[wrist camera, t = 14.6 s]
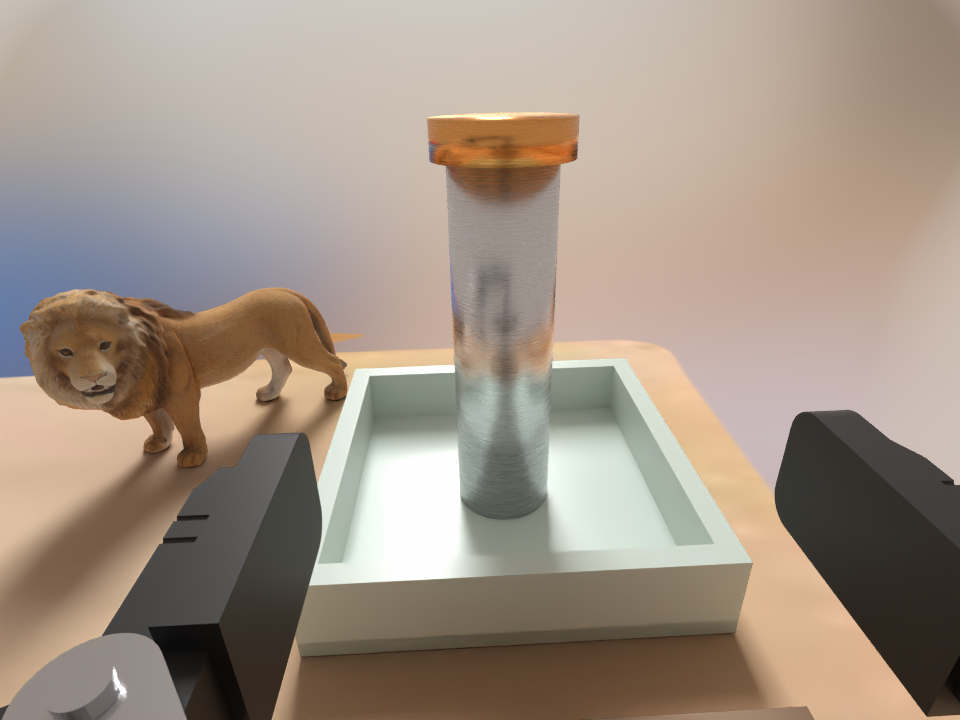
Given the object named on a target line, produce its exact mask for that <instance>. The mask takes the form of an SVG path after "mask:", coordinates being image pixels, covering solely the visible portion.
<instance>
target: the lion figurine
mask: <svg viewBox="0 0 960 720" xmlns="http://www.w3.org/2000/svg"><path fill="white" fill-rule="evenodd" d="M314 329H315V330H314ZM20 330H21V332H22V333H23V336H24V339H25V340H26V342H25V355H26V356H27V357H28V358H29V360H30V365H31V367H32V369H33V372H34V375H35V377H36V381H37V383H38V385H39V386H40V387H41V388H42V389H43V390H44V391H45V393H46V394H47V395H48V396H49V397H51V398H52V399H54V400H55V401H56V402H57V403H58V404H59V405H65V406H67V407H69V408H73V409H82V410H94V409H96V410H103V411H104V412H107V413H109V414H111V415H112V416H114V417H116V418H118V419H120V420H128V419H134V418H139V417H141V416H144V417H145V418H146V420H147V421H148V423H149V424H150V426H151V428H152V430H153V433H154V434H152V435H150V436H149V437H148V439H146V441H145V443H144V450H145V451H147V452H149V453H156V452H159V451H161V450H164V449H166V448H167V447H168V446H169V445H170V444H171V441H172V432H173V430H174V424H175V426H176V428H177V429H178V431H179V433H180V434H181V437H182V440H183V446H184V449H183V450H182V451H181V452H180V453H179V454H178V456H177V460H178V464H179V466H180V467H193V466H199V465H200V464H202V462H203V461H204V460H205V458H206V455H207V451H208V450H207V444H206V438H205V435H204V433H203V431H202V429H201V424H200V418H199V401H200V397H201V391H200V389H201V388H204V387H208V386H211V385H215V384H218V383H221V382H224V381H227V380H230V379H232V378H233V377H235V376H237V375H239V374H240V373H242V372H243V371H245V370H246V369H247V368H248V367H249V366H250V365H251V364H252V363H253V362H254V361H255V360H256V359H257V358H258V357H259V355H260V354H261V353H262V355H263V356H264V357H265V359H266V360H267V361H268V363H269V364H270V366H271V369H272V379H271V381H270V383H269V384H268V385H267V386H264V387H262V388H259V389H258V390H257V393H256V396H257V398H258V399H259V400H261V401H268V400H272V399H274V398H276V397H278V396H279V394H280V393H281V390H282V388H283V386H284V385H285V383H286V381H287V379H288V377H289V375H290V374H291V372H292V367H291V364H290V362H289V360H288V358H289V359H290V360H292V361H294V362H296V363H297V364H299V365H301V366H303V367H306V368H310V369H313V370H316V371H320V372H323V373H326V374H328V375H329V376H330V377H331V378H332V383H331V384H330V385H328V386H327V387H326V388H325V390H324V395H325V397H326V398H328V399H331V400H339V399H341V398H343V397H344V396H345V395H346V394H347V382H346V378H345V375H344V371H343V369H344V368H345V367H346V366H347V364H346V362H344V361H343V360H341V359H339V358H338V357H337V356H336V354H335V350H334V346H333V342H332V340H331V337H330V334H329V331H328V328H327V326H326V324H325V321H324V319H323V318H322V316H321V314H320V313H319V311H318V309H317V308H316V307H315V306H314V305H313V303H312V302H311V301H310V300H309V299H308V298H306V297H305V296H303V295H302V294H300V293H298V292H296V291H293V290H290V289H286V288H264V289H259V290H254V291H251V292H249V293H247V294H245V295H243V296H241V297H239V298H237V299H235V300H234V301H231V302H229V303H227V304H224V305H222V306H219V307H216V308H213V309H210V310H207V311H203V312H199V313H195V314H194V313H192V312H189V311H181V310H176V309H173V308H171V307H170V306H168V305H166V304H163V303H161V302H159V301H157V300H154V299H149V298H143V299H136V298H130V297H126V298H122V297H120V296H117V295H115V294H113V293H112V292H109V291H108V292H103V291H97V290H91V289H89V290H88V289H86V290H77V289H74V290H71V291H69V292H65V293H64V292H63V293H58V294H57V295H55V296H53V297H49V298H45V299H43V300H41V301H40V302H39V304H38V305H37V306H36V307H35V308H34V309H33V310H32V312H31V314H30V316H29V320H28V321H27V322H25V323H23V324H22V325H21V326H20ZM315 331H316V333H317V335H318V337H319V339H320V341H321V342H320V341H319V339H318V337H317V335H316V333H315ZM173 423H174V424H173Z"/></svg>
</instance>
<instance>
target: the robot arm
mask: <svg viewBox="0 0 960 720" xmlns="http://www.w3.org/2000/svg"><path fill="white" fill-rule="evenodd" d="M775 504H776V509H777V512H778V515H779V518H780V520H781V522H782V524H783V525H784V527H785V528H786V529H787V531H788V532H789V533H790V535H791V536H792V537H793V539H794V540H795V541H796V543H797V544H798V545H799V547H800V548H801V549H802V551H803V552H804V553H805V555H806V556H807V557H808V559H809V560H810V561H811V563H812V564H813V565H814V567H815V568H816V569H817V571H818V572H819V573H820V575H821V576H822V577H823V579H824V580H825V581H826V583H827V584H828V585H829V587H830V588H831V589H832V591H833V592H834V594H835V595H836V596H837V598H838V599H839V600H840V602H841V603H842V604H843V606H844V607H845V608H846V610H847V611H848V612H849V614H850V615H851V616H852V618H853V619H854V620H855V622H856V623H857V624H858V626H859V627H860V628H861V630H862V631H863V632H864V634H865V635H866V636H867V638H868V639H869V640H870V642H871V643H872V644H873V646H874V647H875V648H876V650H877V651H878V652H879V654H880V655H881V656H882V658H883V659H884V660H885V662H886V663H887V664H888V666H889V667H890V668H891V670H892V671H893V672H894V674H895V675H896V676H897V678H898V679H899V680H900V682H901V683H902V684H903V686H904V687H905V688H906V690H907V691H908V692H909V694H910V695H911V696H912V698H913V699H914V700H915V702H916V703H917V704H918V706H919V707H920V708H921V710H922V711H923V712H924V714H925V715H926V716H927V717H931V716H947V715H960V485H954V480H953V479H951V478H950V477H949V476H948V475H946V474H945V473H944V472H943V471H941V470H940V469H939V468H937V467H936V466H935V465H934V464H932V463H931V462H930V461H929V460H928V459H926V458H925V457H923V456H921V455H919V454H917V453H915V452H913V451H911V450H909V449H907V448H905V447H903V446H901V445H899V444H897V443H895V442H893V441H891V440H890V439H889V438H887V437H886V436H885V435H884V434H882V433H881V432H880V431H879V430H878V429H876V428H875V427H874V426H873V425H872V424H870V423H869V422H868V421H867V420H865V419H864V418H863V417H862V416H861V415H859V414H858V413H856V412H854V411H850V410H839V411H838V410H837V411H815V412H802V413H800V414H798V415H797V416H796V417H795V419H794V421H793V423H792V426H791V429H790V433H789V437H788V440H787V444H786V449H785V452H784V456H783V460H782V463H781V467H780V471H779V475H778V478H777V482H776V487H775ZM321 536H322V509H321V503H320V498H319V492H318V487H317V482H316V476H315V471H314V466H313V460H312V455H311V450H310V445H309V441H308V438H307V436H306V434H305V433H283V434H260V435H255V436H254V437H253V438H252V440H251V441H250V443H249V445H248V447H247V448H246V450H245V452H244V454H243V456H242V457H241V459H240V461H239V463H238V465H237V466H236V467H229V468H220V469H218V470H217V471H216V472H215V473H214V474H212V475H211V476H210V477H209V478H207V479H206V480H205V481H204V482H203V483H201V484H200V485H199V486H198V487H197V488H195V489H194V490H193V491H192V493H191V495H190V496H189V498H188V499H187V501H186V503H185V504H184V506H183V507H182V509H181V511H180V512H179V514H178V515H177V521H174V522H173V523H172V525H171V526H170V528H169V530H168V531H167V533H166V534H165V536H164V538H163V544H159V546H158V547H157V549H156V550H155V552H154V554H153V555H152V557H151V558H150V560H149V562H148V563H147V565H146V566H145V568H144V570H143V571H142V573H141V574H140V576H139V578H138V579H137V581H136V582H135V584H134V586H133V587H132V589H131V590H130V592H129V594H128V595H127V597H126V598H125V600H124V601H123V603H122V605H121V606H120V608H119V609H118V611H117V613H116V614H115V616H114V617H113V619H112V621H111V622H110V624H109V625H108V627H107V629H106V630H105V632H104V633H103V635H102V636H101V637H98V638H95V639H92V640H89V641H87V642H85V643H82V644H80V645H78V646H76V647H74V648H72V649H70V650H68V651H67V652H65V653H63V654H61V655H60V656H58V657H57V658H55V659H54V660H52V661H51V662H49V663H48V664H47V665H46V666H44V667H43V668H42V669H41V670H39V671H38V672H37V673H36V674H35V675H34V676H33V677H32V678H31V679H30V680H29V681H28V682H27V683H26V684H25V685H24V686H23V687H22V688H21V690H20V691H19V692H18V693H17V694H16V696H15V697H14V699H13V700H12V702H11V703H10V705H7V706H5V707H2V708H0V720H271V719H272V716H273V712H274V709H275V705H276V701H277V698H278V694H279V691H280V687H281V684H282V680H283V676H284V673H285V669H286V666H287V662H288V659H289V655H290V651H291V648H292V644H293V641H294V637H295V633H296V630H297V626H298V623H299V619H300V616H301V612H302V608H303V605H304V601H305V598H306V594H307V591H308V587H309V583H310V580H311V576H312V573H313V569H314V566H315V562H316V558H317V555H318V551H319V547H320V543H321Z"/></svg>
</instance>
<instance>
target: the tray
mask: <svg viewBox="0 0 960 720" xmlns="http://www.w3.org/2000/svg"><path fill="white" fill-rule="evenodd" d="M317 487H318V492H319V498H320V503H321V509H322V536H321V543H320V547H319V551H318V555H317V558H316V562H315V566H314V569H313V573H312V576H311V580H310V583H309V587H308V591H307V594H306V598H305V601H304V605H303V608H302V612H301V616H300V619H299V623H298V626H297V630H296V633H295V636H296V640H297V644H298V648H299V652H300V656H301V657H306V656H324V655H342V654H360V653H378V652H396V651H414V650H432V649H450V648H468V647H486V646H504V645H522V644H540V643H558V642H576V641H594V640H612V639H630V638H648V637H666V636H684V635H702V634H720V633H735V630H736V626H737V622H738V619H739V615H740V611H741V607H742V603H743V599H744V595H745V592H746V588H747V584H748V580H749V576H750V572H751V568H752V565H753V562H752V560H751V559H750V557H749V555H748V554H747V552H746V551H745V549H744V547H743V546H742V544H741V543H740V541H739V539H738V538H737V536H736V535H735V533H734V531H733V530H732V528H731V527H730V525H729V523H728V522H727V520H726V519H725V517H724V515H723V514H722V512H721V511H720V509H719V507H718V506H717V504H716V503H715V501H714V499H713V498H712V496H711V495H710V493H709V491H708V490H707V488H706V487H705V485H704V483H703V482H702V480H701V479H700V477H699V475H698V474H697V472H696V471H695V469H694V467H693V466H692V464H691V463H690V461H689V459H688V458H687V456H686V455H685V453H684V451H683V450H682V448H681V447H680V445H679V443H678V442H677V440H676V439H675V437H674V435H673V434H672V432H671V431H670V429H669V427H668V426H667V424H666V423H665V421H664V419H663V418H662V416H661V415H660V413H659V411H658V410H657V408H656V407H655V405H654V403H653V402H652V400H651V399H650V397H649V395H648V394H647V392H646V391H645V389H644V387H643V386H642V384H641V383H640V381H639V379H638V378H637V376H636V375H635V373H634V371H633V370H632V368H631V367H630V365H629V363H628V362H627V360H626V359H625V358H618V359H594V360H569V361H552V385H551V409H550V433H549V457H548V481H547V496H546V499H545V501H544V503H543V504H542V505H541V506H540V507H539V508H538V509H537V510H536V511H534V512H532V513H531V514H529V515H526V516H523V517H520V518H515V519H493V518H488V517H485V516H482V515H479V514H477V513H475V512H474V511H472V510H471V509H469V508H468V507H467V506H466V505H465V503H464V502H463V500H462V499H461V496H460V483H459V460H458V437H457V414H456V391H455V368H454V365H445V366H420V367H395V368H370V369H356V370H355V373H354V376H353V379H352V382H351V385H350V388H349V391H348V394H347V397H346V400H345V403H344V406H343V409H342V412H341V415H340V418H339V421H338V424H337V427H336V430H335V433H334V436H333V439H332V442H331V445H330V448H329V451H328V454H327V457H326V460H325V463H324V466H323V469H322V472H321V475H320V478H319V481H318V484H317Z"/></svg>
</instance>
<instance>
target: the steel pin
mask: <svg viewBox="0 0 960 720" xmlns="http://www.w3.org/2000/svg"><path fill="white" fill-rule="evenodd" d="M427 123H428V143H429V160H430V162H432V163H435V164H439V165H445V166H446V182H447V206H448V229H449V252H450V275H451V297H452V298H451V299H452V319H453V320H452V321H453V345H454V368H455V391H456V414H457V437H458V460H459V483H460V496H461V499H462V500H463V502H464V503H465V505H466V506H467V507H468V508H469V509H471V510H472V511H474V512H475V513H477V514H479V515H482V516H485V517H488V518H493V519H515V518H520V517H523V516H526V515H529V514H531V513H532V512H534V511H536V510H537V509H538V508H539V507H540V506H541V505H542V504H543V503H544V501H545V499H546V496H547V481H548V457H549V433H550V409H551V385H552V361H553V336H554V309H555V288H556V264H557V238H558V215H559V214H558V213H559V190H560V167H561V166H560V165H561V164H563V163H567V162H571V161H574V160H576V159H577V152H578V134H579V115H576V114H565V113H481V114H460V115H445V116H435V117H429V118H427Z"/></svg>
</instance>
